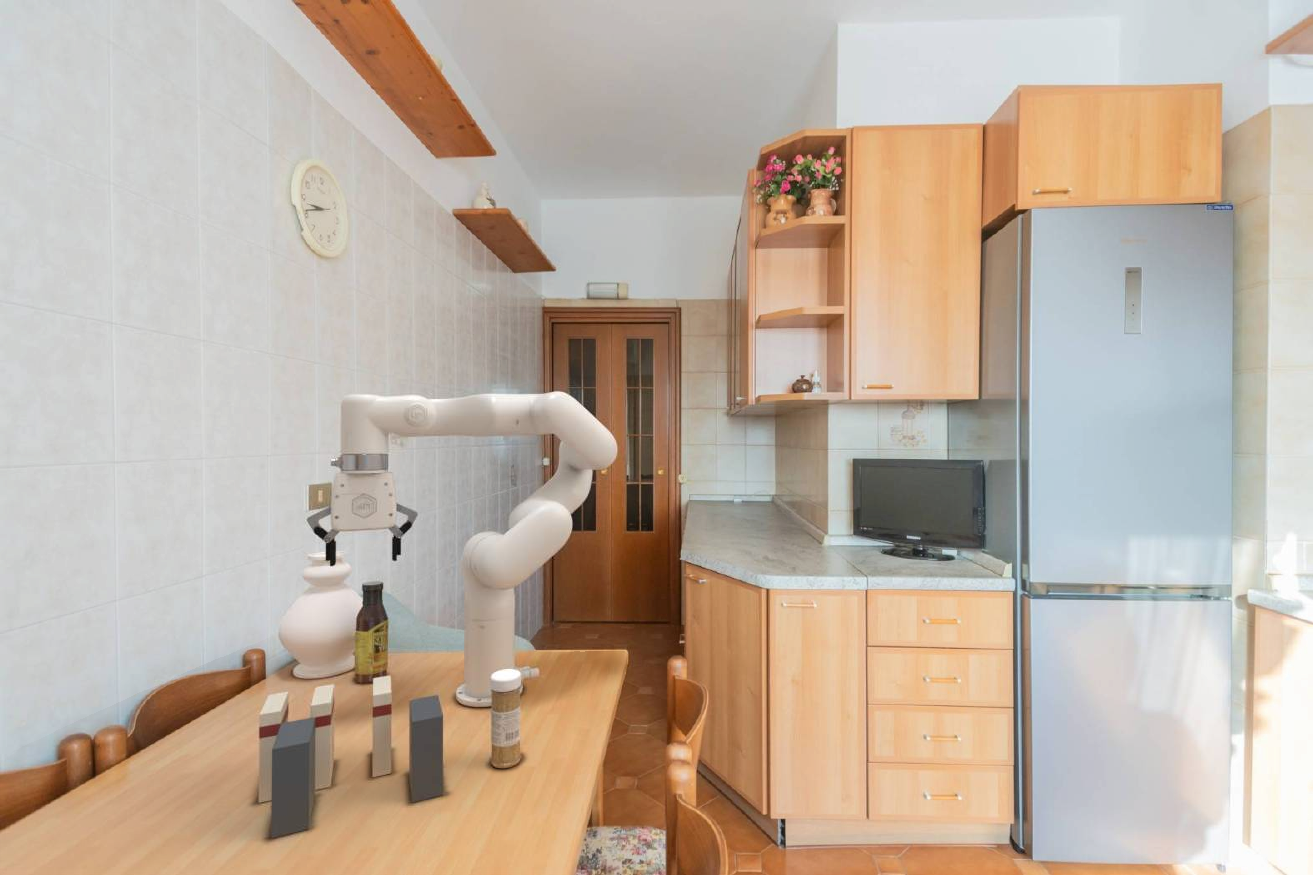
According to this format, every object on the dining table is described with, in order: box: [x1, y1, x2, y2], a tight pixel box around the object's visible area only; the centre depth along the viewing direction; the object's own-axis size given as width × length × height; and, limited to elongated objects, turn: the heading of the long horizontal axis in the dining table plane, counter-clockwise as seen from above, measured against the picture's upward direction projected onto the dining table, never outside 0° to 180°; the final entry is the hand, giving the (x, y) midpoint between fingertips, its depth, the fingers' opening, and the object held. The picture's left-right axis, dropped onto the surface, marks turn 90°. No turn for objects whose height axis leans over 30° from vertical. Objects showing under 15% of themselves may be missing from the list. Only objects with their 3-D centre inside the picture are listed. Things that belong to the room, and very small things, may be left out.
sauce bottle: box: [354, 580, 389, 684], centre depth 120 cm, size 7×6×20 cm
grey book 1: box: [270, 717, 316, 840], centre depth 75 cm, size 4×8×11 cm, turn 26°
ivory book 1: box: [258, 691, 289, 804], centre depth 81 cm, size 2×7×12 cm, turn 26°
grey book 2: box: [408, 694, 444, 804], centre depth 82 cm, size 4×8×11 cm, turn 26°
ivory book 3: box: [371, 675, 393, 778], centre depth 87 cm, size 2×7×12 cm, turn 26°
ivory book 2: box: [309, 683, 335, 791], centre depth 84 cm, size 2×7×12 cm, turn 26°
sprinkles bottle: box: [490, 669, 522, 769], centre depth 87 cm, size 5×5×14 cm
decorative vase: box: [278, 550, 363, 680], centre depth 126 cm, size 18×18×25 cm
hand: (364, 562), depth 100 cm, fingers open, 9 cm apart
